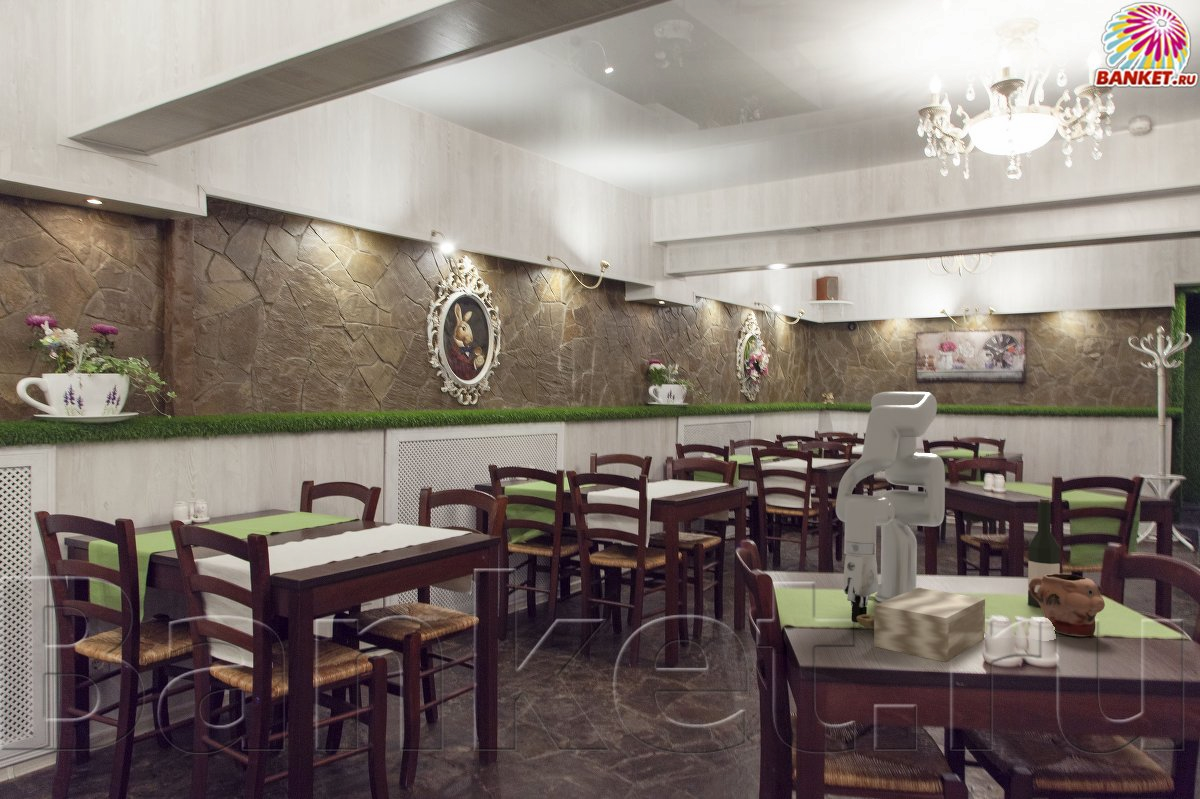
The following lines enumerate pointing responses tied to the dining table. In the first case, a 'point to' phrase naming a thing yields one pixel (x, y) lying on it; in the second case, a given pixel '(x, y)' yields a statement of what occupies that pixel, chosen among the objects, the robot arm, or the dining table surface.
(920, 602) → the mottled beige box
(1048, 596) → the animal face pitcher
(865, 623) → the oil lamp
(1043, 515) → the wine bottle
